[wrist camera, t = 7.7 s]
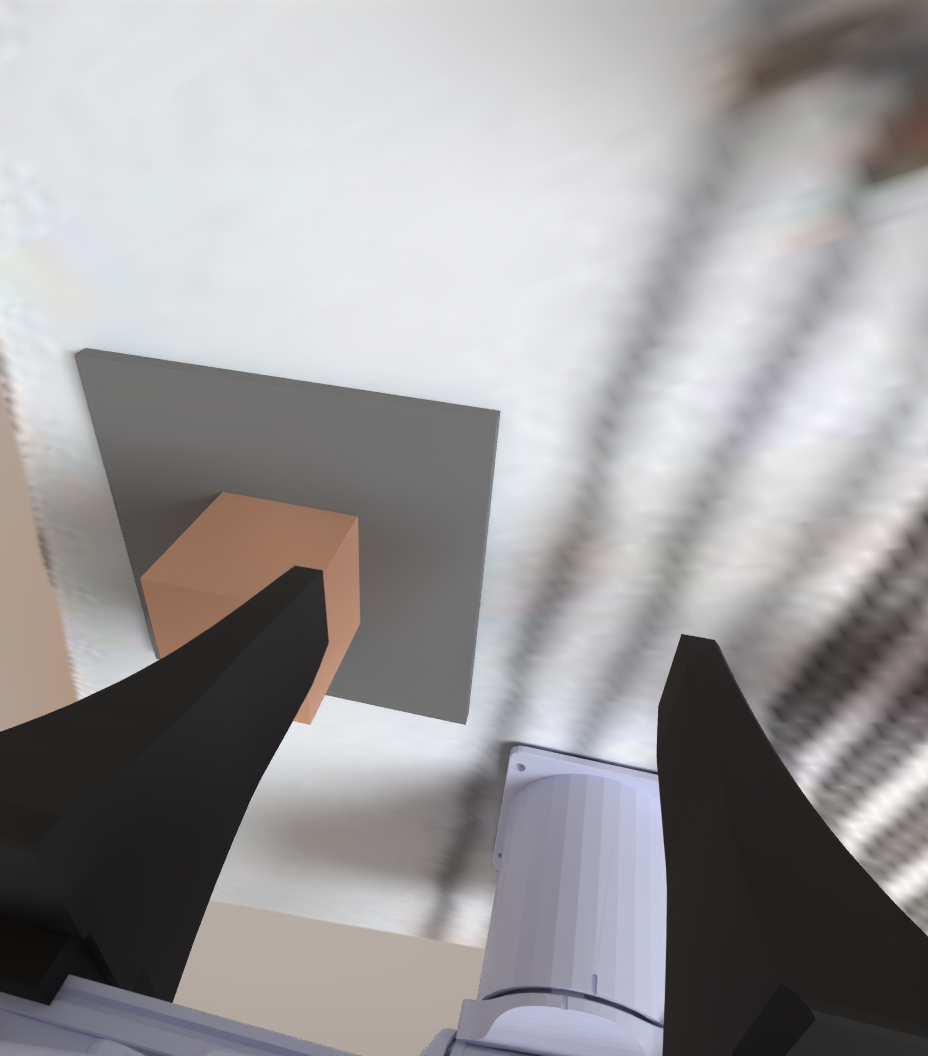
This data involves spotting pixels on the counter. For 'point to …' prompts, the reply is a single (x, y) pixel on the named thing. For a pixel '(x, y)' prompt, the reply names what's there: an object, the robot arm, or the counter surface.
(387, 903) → the counter surface
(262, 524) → the cube
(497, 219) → the counter surface
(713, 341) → the counter surface
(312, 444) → the mat
